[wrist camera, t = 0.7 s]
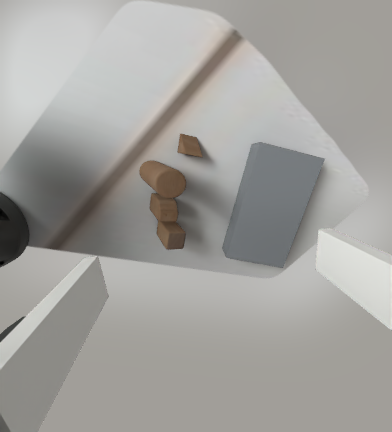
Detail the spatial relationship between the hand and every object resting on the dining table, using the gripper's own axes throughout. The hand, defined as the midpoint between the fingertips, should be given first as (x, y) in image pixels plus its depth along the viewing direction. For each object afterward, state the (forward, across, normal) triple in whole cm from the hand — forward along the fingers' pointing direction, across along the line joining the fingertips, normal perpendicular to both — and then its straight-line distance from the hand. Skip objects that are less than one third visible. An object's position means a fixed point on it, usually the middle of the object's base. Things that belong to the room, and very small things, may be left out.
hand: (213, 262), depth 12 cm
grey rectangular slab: (+24, +14, -4) cm, 28 cm away
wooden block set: (+25, -4, +2) cm, 26 cm away
